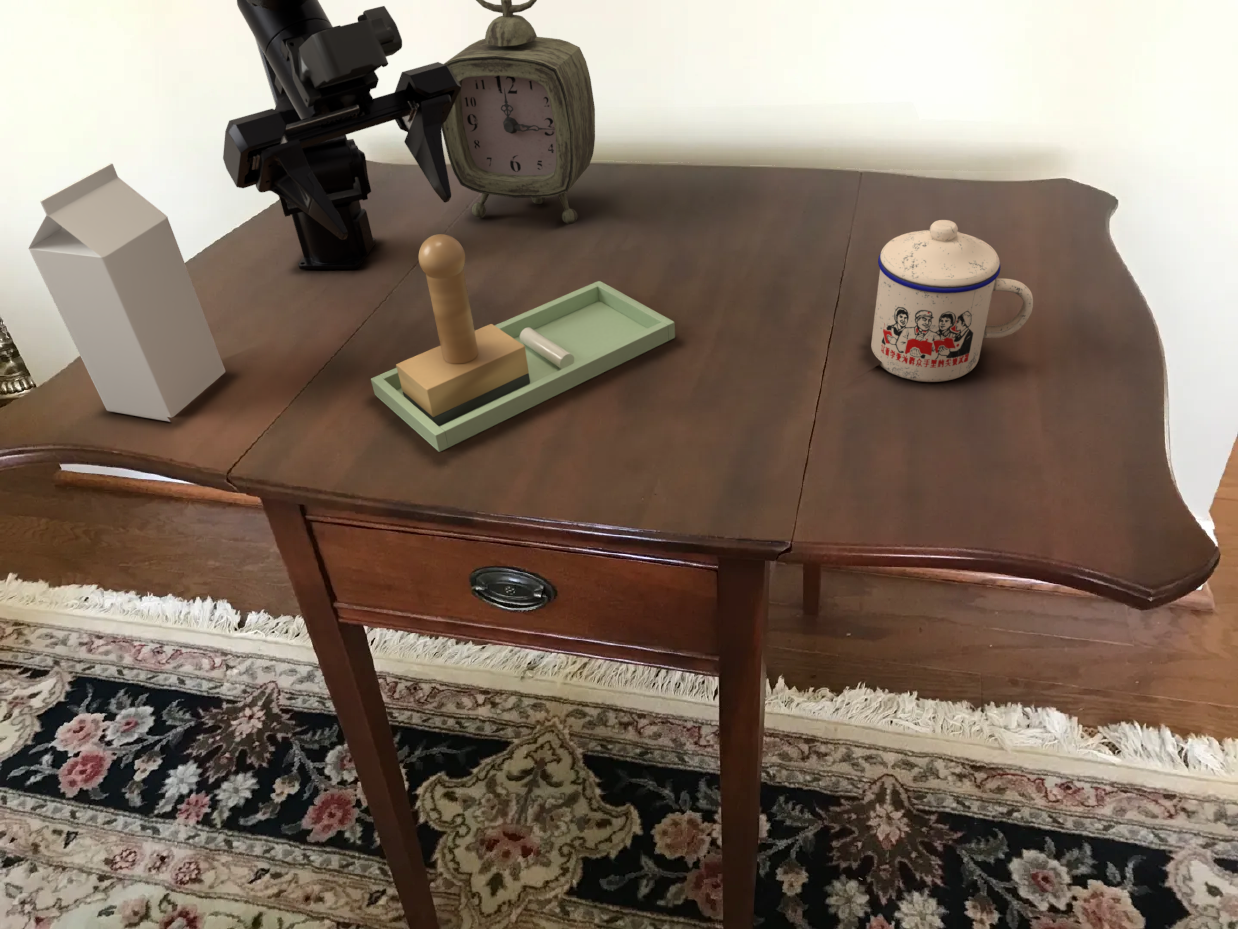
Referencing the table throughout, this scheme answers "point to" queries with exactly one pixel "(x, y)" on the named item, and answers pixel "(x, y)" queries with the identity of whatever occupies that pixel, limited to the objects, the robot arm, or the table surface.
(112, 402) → the milk carton
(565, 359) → the chalk
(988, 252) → the teacup with lid
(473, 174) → the tabletop clock
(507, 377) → the wooden rubber stamp
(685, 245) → the table surface
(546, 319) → the tray
